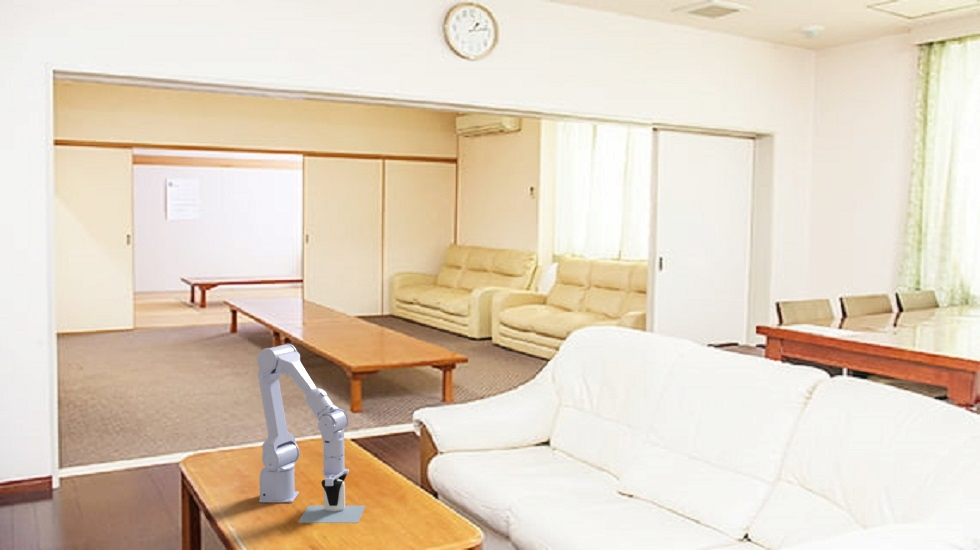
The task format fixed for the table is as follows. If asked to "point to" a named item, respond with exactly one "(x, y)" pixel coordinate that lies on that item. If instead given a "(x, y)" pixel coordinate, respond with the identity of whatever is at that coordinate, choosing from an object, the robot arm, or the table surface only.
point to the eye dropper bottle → (341, 499)
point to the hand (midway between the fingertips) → (334, 502)
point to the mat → (332, 515)
